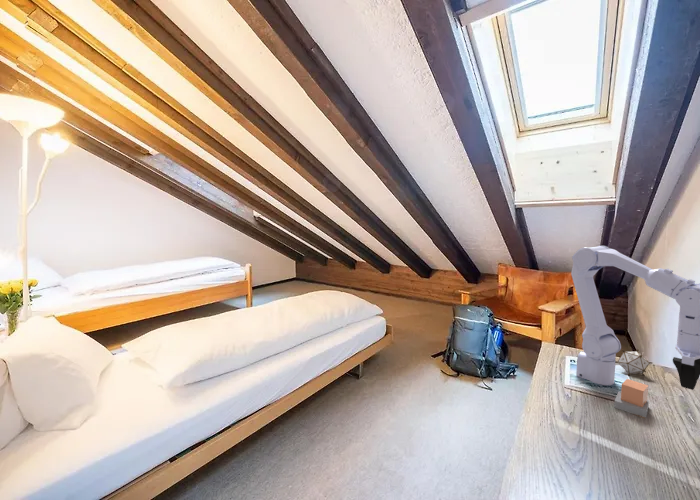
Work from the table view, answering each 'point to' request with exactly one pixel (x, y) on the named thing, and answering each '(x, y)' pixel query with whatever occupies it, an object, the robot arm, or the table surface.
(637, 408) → the slate slab
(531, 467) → the table surface
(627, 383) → the terracotta block
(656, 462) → the table surface
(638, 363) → the beige geometric polyhedron
